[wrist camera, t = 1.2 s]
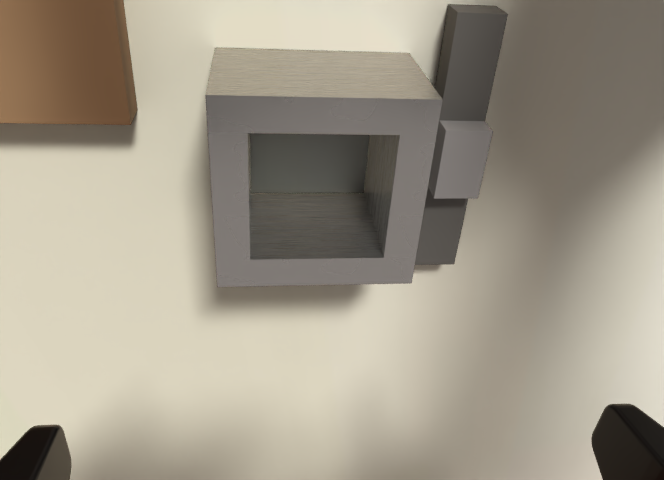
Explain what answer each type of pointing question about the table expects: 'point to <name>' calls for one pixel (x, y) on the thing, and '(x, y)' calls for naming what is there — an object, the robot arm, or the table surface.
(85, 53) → the wooden peg board
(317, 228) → the end link
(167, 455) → the table surface
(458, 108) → the grey long bar
